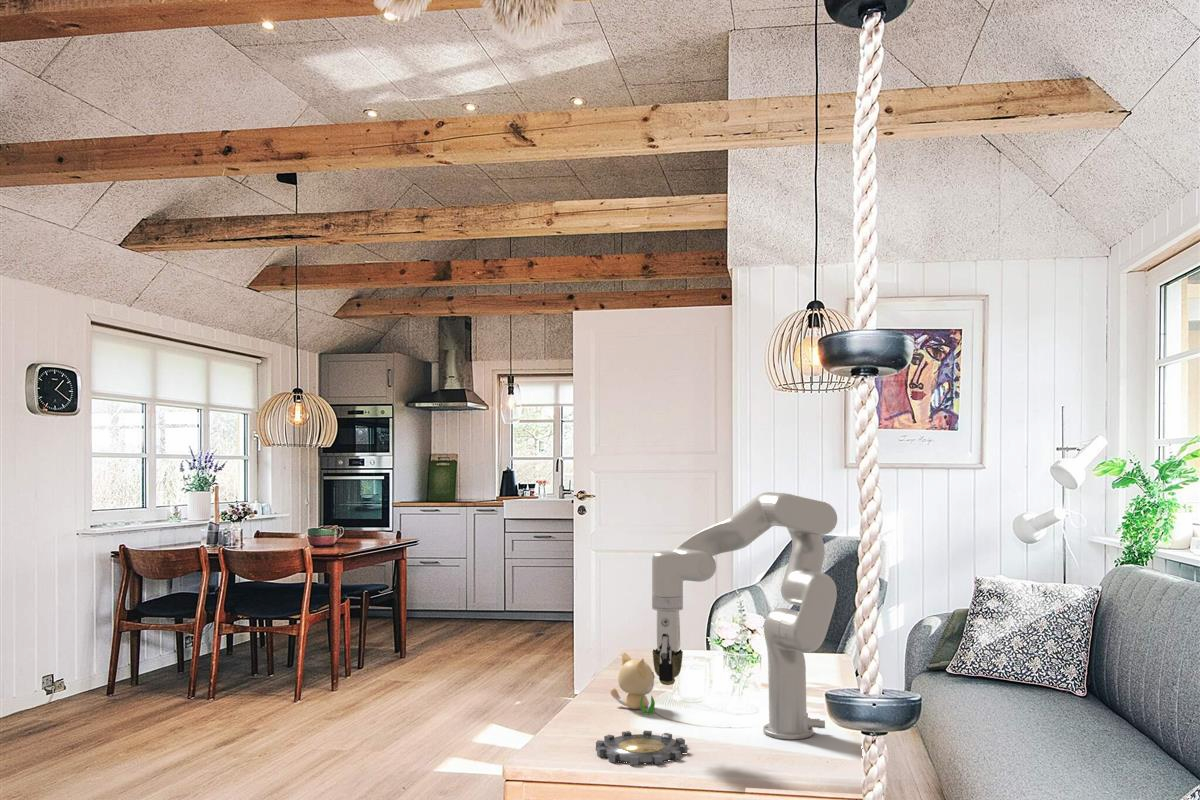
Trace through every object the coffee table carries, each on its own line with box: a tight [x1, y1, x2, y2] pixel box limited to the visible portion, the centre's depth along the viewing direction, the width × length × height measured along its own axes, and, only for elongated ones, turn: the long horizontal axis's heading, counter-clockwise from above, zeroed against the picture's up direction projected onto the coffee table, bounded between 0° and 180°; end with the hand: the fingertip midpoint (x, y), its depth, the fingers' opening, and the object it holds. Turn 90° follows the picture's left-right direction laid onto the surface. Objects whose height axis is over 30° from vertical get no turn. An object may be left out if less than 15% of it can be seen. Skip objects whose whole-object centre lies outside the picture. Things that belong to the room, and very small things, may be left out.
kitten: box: [609, 652, 656, 715], centre depth 278 cm, size 15×10×15 cm, turn 32°
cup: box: [652, 648, 684, 686], centre depth 237 cm, size 8×7×8 cm
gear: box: [595, 730, 688, 766], centre depth 238 cm, size 22×22×2 cm
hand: (667, 676), depth 237 cm, fingers closed on cup, 6 cm apart
